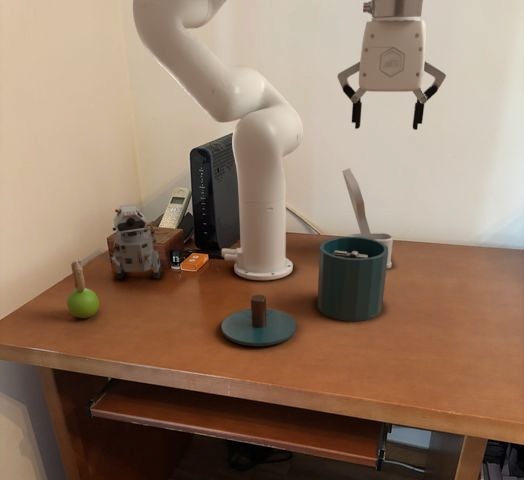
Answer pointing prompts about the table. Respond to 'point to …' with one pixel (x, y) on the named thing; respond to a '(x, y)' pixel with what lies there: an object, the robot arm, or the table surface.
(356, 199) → the phone holder
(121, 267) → the figurine
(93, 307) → the green ball with peg
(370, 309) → the tin
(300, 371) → the table surface
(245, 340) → the tin lid
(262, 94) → the robot arm
